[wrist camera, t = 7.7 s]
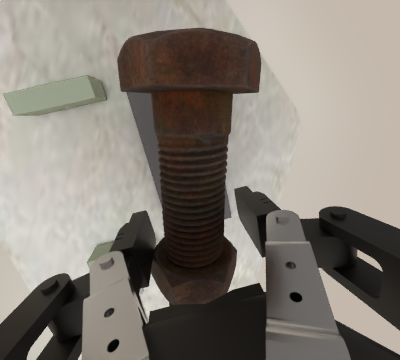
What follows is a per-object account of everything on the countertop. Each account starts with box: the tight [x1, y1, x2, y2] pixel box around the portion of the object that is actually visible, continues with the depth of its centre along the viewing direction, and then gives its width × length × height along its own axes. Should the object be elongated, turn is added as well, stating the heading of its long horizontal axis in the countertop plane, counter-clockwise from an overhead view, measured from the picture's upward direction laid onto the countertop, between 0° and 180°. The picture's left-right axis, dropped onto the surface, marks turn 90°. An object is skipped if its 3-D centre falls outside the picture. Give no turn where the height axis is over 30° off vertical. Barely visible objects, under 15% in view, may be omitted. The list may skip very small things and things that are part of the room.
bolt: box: [117, 28, 261, 306], centre depth 11 cm, size 6×5×15 cm
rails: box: [3, 75, 156, 295], centre depth 25 cm, size 28×8×4 cm, turn 12°
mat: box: [127, 92, 231, 219], centre depth 26 cm, size 19×9×1 cm, turn 12°
